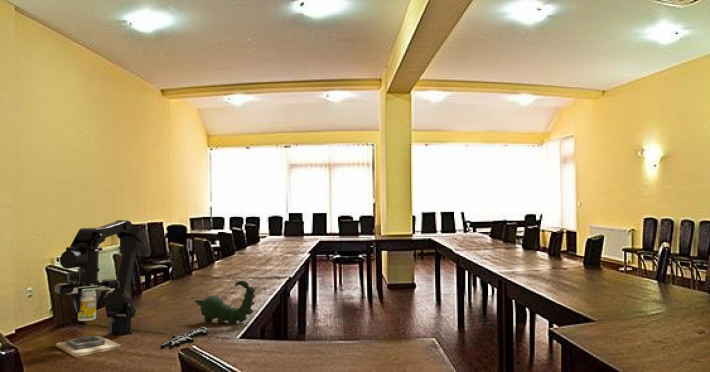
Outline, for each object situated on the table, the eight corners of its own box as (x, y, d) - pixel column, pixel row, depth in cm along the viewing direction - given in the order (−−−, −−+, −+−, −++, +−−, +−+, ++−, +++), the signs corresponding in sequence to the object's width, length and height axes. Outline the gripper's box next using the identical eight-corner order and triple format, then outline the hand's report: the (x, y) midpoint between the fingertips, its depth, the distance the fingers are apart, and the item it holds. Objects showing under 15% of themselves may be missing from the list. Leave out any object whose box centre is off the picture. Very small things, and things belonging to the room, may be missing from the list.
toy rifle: (191, 326, 191) (215, 327, 190) (191, 330, 191) (215, 331, 190) (153, 344, 164) (181, 346, 163) (153, 349, 164) (181, 350, 163)
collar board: (100, 338, 175) (100, 331, 176) (120, 348, 163) (121, 340, 164) (56, 346, 165) (56, 338, 165) (75, 357, 153) (75, 349, 153)
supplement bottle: (98, 318, 165) (100, 290, 165) (82, 321, 160) (84, 292, 161) (90, 316, 168) (91, 288, 168) (74, 319, 163) (75, 290, 164)
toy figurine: (254, 325, 206) (197, 318, 208) (258, 280, 206) (202, 273, 209) (247, 330, 196) (187, 323, 199) (252, 283, 197) (193, 276, 200)
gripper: (108, 261, 177) (106, 304, 177) (49, 265, 163) (48, 312, 163) (120, 263, 170) (119, 309, 169) (61, 268, 156) (59, 317, 155)
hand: (87, 311), depth 164 cm, fingers closed on supplement bottle, 5 cm apart
